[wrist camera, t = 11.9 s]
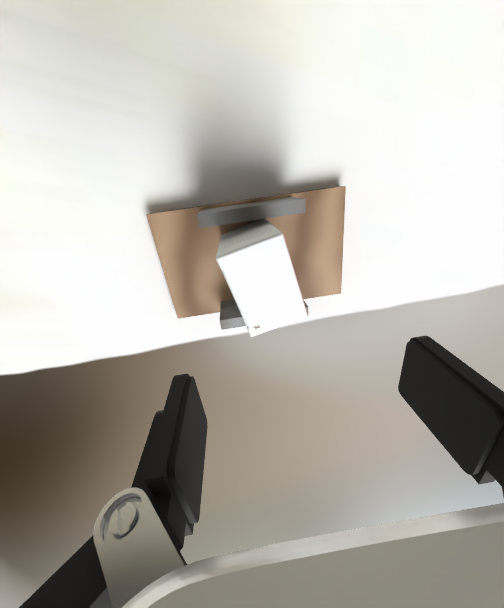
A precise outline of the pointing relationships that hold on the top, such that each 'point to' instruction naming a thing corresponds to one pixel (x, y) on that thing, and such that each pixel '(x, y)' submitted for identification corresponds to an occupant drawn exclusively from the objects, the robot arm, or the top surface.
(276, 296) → the small box
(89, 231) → the top surface
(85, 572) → the robot arm
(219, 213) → the holder stand
